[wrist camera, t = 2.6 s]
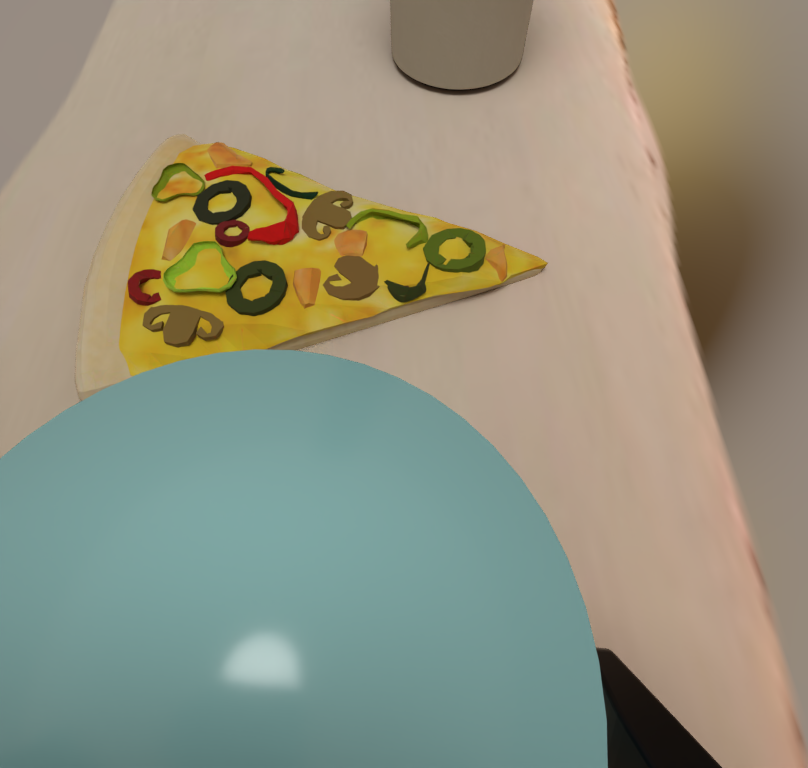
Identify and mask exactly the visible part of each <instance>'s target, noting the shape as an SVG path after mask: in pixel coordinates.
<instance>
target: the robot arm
mask: <svg viewBox="0 0 808 768" xmlns="http://www.w3.org/2000/svg"><path fill="white" fill-rule="evenodd" d="M596 651H597V655H598V659H599V665H600V672H601V680H602V688H603V695H604V703H605V711H606V718H607V758H608V768H722V767H721V766H720V765H719V764H718V763H717V762H716V761H715V760H714V759H713V757H712V756H711V755H710V754H709V753H708V752H707V751H706V750H705V749H704V748H703V747H702V746H701V745H700V744H699V743H698V742H697V741H696V739H695V738H694V737H693V736H692V735H691V734H690V733H689V732H688V731H687V730H686V729H685V728H684V727H683V726H682V725H681V724H680V723H679V721H678V720H677V719H676V718H675V717H674V716H673V715H672V714H671V713H670V712H669V711H668V710H667V709H666V708H665V707H664V706H663V705H662V703H661V702H660V701H659V700H658V699H657V698H656V697H655V696H654V695H653V694H652V693H651V692H650V691H649V690H648V689H647V688H646V686H645V685H644V684H643V683H642V682H641V681H640V680H639V679H638V678H637V677H636V676H635V675H634V674H633V673H632V672H631V671H630V670H629V668H628V667H627V666H626V665H625V664H624V663H623V662H622V661H621V660H620V659H619V658H618V657H617V656H616V655H615V654H614V653H613V652H612V651H611V650H609V649H606V648H596Z"/></svg>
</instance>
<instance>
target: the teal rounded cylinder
mask: <svg viewBox="0 0 808 768" xmlns="http://www.w3.org/2000/svg"><path fill="white" fill-rule="evenodd" d="M0 768H608V758H607V718H606V711H605V703H604V695H603V688H602V680H601V672H600V665H599V659H598V655H597V651H596V647H595V643H594V639H593V634H592V630H591V626H590V622H589V618H588V614H587V610H586V606H585V604H584V601H583V598H582V596H581V593H580V590H579V588H578V585H577V582H576V579H575V577H574V574H573V571H572V569H571V566H570V563H569V560H568V558H567V556H566V554H565V552H564V550H563V548H562V546H561V544H560V542H559V540H558V538H557V536H556V534H555V532H554V530H553V528H552V527H551V525H550V523H549V521H548V519H547V517H546V515H545V513H544V512H543V510H542V509H541V507H540V506H539V504H538V503H537V501H536V500H535V498H534V497H533V495H532V494H531V492H530V491H529V489H528V488H527V486H526V485H525V483H524V482H523V480H522V479H521V478H520V476H519V475H518V474H517V473H516V472H515V471H514V469H513V468H512V467H511V466H510V465H509V464H508V462H507V461H506V460H505V459H504V458H503V456H502V455H501V454H500V453H499V452H498V451H497V449H496V448H495V447H494V446H493V445H492V444H491V443H490V442H489V441H488V440H487V439H485V438H484V437H483V436H482V435H481V434H480V433H479V432H478V431H477V430H476V429H475V428H473V427H472V426H471V425H470V424H469V423H468V422H467V421H466V420H465V419H464V418H462V417H461V416H459V415H458V414H457V413H455V412H454V411H452V410H451V409H450V408H448V407H447V406H445V405H444V404H443V403H441V402H440V401H438V400H437V399H436V398H434V397H433V396H431V395H430V394H428V393H426V392H424V391H422V390H420V389H418V388H417V387H415V386H413V385H411V384H409V383H407V382H405V381H404V380H402V379H400V378H398V377H395V376H393V375H390V374H388V373H385V372H383V371H380V370H378V369H375V368H372V367H370V366H367V365H365V364H361V363H358V362H354V361H350V360H346V359H342V358H338V357H334V356H330V355H325V354H317V353H310V352H303V351H295V350H259V349H254V350H243V351H233V352H222V353H215V354H210V355H205V356H200V357H195V358H190V359H185V360H181V361H177V362H174V363H171V364H167V365H164V366H161V367H158V368H155V369H152V370H149V371H145V372H142V373H140V374H137V375H135V376H133V377H130V378H128V379H126V380H123V381H121V382H119V383H116V384H114V385H112V386H110V387H107V388H105V389H103V390H101V391H99V392H97V393H95V394H94V395H92V396H90V397H88V398H86V399H85V400H83V401H81V402H79V403H77V404H76V405H74V406H72V407H70V408H68V409H66V410H65V411H63V412H62V413H60V414H59V415H57V416H56V417H54V418H53V419H52V420H50V421H49V422H47V423H46V424H44V425H43V426H41V427H40V428H38V429H37V430H35V431H34V432H33V433H31V434H30V435H28V436H27V437H26V438H24V439H23V440H22V441H21V442H20V443H18V444H17V445H16V446H15V447H13V448H12V449H11V450H10V451H9V452H7V453H6V454H5V455H4V456H3V457H1V458H0Z"/></svg>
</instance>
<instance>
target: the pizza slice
mask: <svg viewBox="0 0 808 768" xmlns="http://www.w3.org/2000/svg"><path fill="white" fill-rule="evenodd" d="M547 264H548V263H547V262H545V261H544V260H542V259H540V258H539V257H536V256H534V255H531V254H529V253H527V252H524V251H522V250H519V249H517V248H514V247H512V246H509V245H507V244H504V243H502V242H500V241H497V240H495V239H493V238H491V237H488V236H486V235H484V234H482V233H479V232H477V231H474V230H471V229H467V228H464V227H460V226H457V225H453V224H450V223H447V222H444V221H442V220H440V219H437V218H434V217H430V216H425V215H420V214H415V213H411V212H406V211H403V210H399V209H396V208H392V207H389V206H386V205H382V204H379V203H376V202H372V201H369V200H366V199H362V198H359V197H355V196H352V195H351V194H349V193H347V192H345V191H335V190H333V189H330V188H328V187H326V186H324V185H322V184H320V183H318V182H316V181H313V180H311V179H309V178H307V177H305V176H303V175H301V174H298V173H295V172H292V171H289V170H286V169H284V168H282V167H280V166H278V165H276V164H274V163H272V162H270V161H268V160H266V159H264V158H261V157H259V156H256V155H253V154H250V153H247V152H244V151H241V150H238V149H235V148H232V147H228V146H226V145H225V144H224V143H218V142H216V143H211V144H203V145H202V144H200V143H198V142H197V141H195V140H194V139H192V138H190V137H188V136H187V135H185V134H178V135H175V136H172V137H170V138H168V139H166V140H165V141H164V142H163V143H162V144H161V145H160V146H159V147H158V148H157V149H156V150H155V151H154V152H153V154H152V155H151V156H150V157H149V159H148V160H147V161H146V163H145V164H144V165H143V166H142V168H141V169H140V170H139V172H138V173H137V174H136V176H135V177H134V179H133V180H132V182H131V183H130V185H129V187H128V188H127V190H126V191H125V193H124V194H123V196H122V197H121V199H120V201H119V203H118V205H117V206H116V208H115V210H114V212H113V214H112V216H111V218H110V220H109V221H108V223H107V225H106V228H105V230H104V232H103V234H102V237H101V239H100V241H99V244H98V246H97V248H96V251H95V253H94V255H93V259H92V262H91V266H90V269H89V273H88V276H87V279H86V283H85V286H84V292H83V300H82V308H81V317H80V324H79V332H78V340H77V348H76V364H75V384H76V388H77V392H78V397H79V399H80V400H81V401H83V400H85V399H86V398H88V397H90V396H92V395H94V394H95V393H97V392H99V391H101V390H103V389H105V388H107V387H110V386H112V385H114V384H116V383H119V382H121V381H123V380H126V379H128V378H130V377H133V376H135V375H137V374H140V373H142V372H145V371H149V370H152V369H155V368H158V367H161V366H164V365H167V364H171V363H174V362H177V361H181V360H185V359H190V358H195V357H200V356H205V355H210V354H215V353H222V352H233V351H243V350H254V349H259V350H298V349H301V348H304V347H308V346H311V345H314V344H317V343H320V342H324V341H327V340H330V339H333V338H337V337H340V336H343V335H346V334H350V333H353V332H356V331H359V330H362V329H366V328H369V327H372V326H375V325H379V324H382V323H385V322H388V321H392V320H395V319H398V318H401V317H405V316H408V315H411V314H414V313H418V312H421V311H424V310H427V309H430V308H434V307H437V306H440V305H443V304H447V303H450V302H453V301H456V300H459V299H463V298H466V297H469V296H472V295H476V294H479V293H482V292H485V291H489V290H492V289H495V288H498V287H502V286H505V285H508V284H511V283H514V282H518V281H521V280H524V279H527V278H530V277H533V276H535V275H537V274H538V273H540V272H541V271H542V268H545V266H546V265H547Z"/></svg>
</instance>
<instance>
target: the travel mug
mask: <svg viewBox="0 0 808 768" xmlns="http://www.w3.org/2000/svg"><path fill="white" fill-rule="evenodd" d="M532 5H533V0H390V12H391V47H392V55H393V58H394V61H395V62H396V64H397V65H398V67H399V68H400V69H401V70H402V71H403V72H404V73H406V74H407V75H409V76H410V77H412V78H413V79H415V80H417V81H420V82H422V83H425V84H427V85H431V86H434V87H439V88H445V89H474V88H479V87H484V86H488V85H491V84H494V83H496V82H499V81H501V80H502V79H504V78H506V77H507V76H509V75H510V74H511V73H513V71H514V70H515V69H516V68H517V67H518V66H519V64H520V62H521V59H522V55H523V50H524V45H525V40H526V35H527V30H528V25H529V20H530V15H531V10H532Z"/></svg>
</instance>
